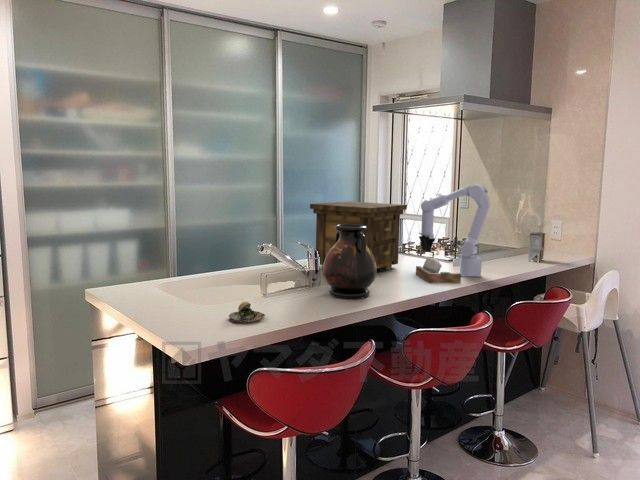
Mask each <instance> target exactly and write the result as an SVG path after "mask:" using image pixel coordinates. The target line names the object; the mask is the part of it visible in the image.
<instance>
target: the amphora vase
mask: <svg viewBox="0 0 640 480" xmlns="http://www.w3.org/2000/svg"><path fill="white" fill-rule="evenodd" d="M335 229H337V230H338V232H337V234H336V239H335V244H334V245H333V247H332V248H331V249H330V250H329V251H328V253H327V255H326V257H325V260H324V264H323V269H322V275H323V278H324V280H325V282H326V283H327V284H328V285H329V286H330V288H329V289H328V294H329V295H330V296H333V297H335V298H338V299H343V300H344V299H345V300H358V299H359V300H360V299H364V298H367V297H368V296H369V295H370V293H371V292H370V289H369V287H371V285H372V284H373V283H374V281H375V280H376V278H377V272H378V268H377V267H376V261H375V258H374V255H373V253H372V252H371V250H370V249H369V248H368V247H367V244H366V238H365V236H364V235H363V234H362V232H363V231H365V230H367V227H366V226H364V225H357V224H340V225H336V226H335Z"/></svg>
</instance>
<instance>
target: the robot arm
mask: <svg viewBox="0 0 640 480" xmlns="http://www.w3.org/2000/svg"><path fill="white" fill-rule="evenodd" d="M464 196H465V197H470V198H471V199H472V200H474V201H475V203H476V205H477V209H476V212H475V215H474V218H473V221H472V223H471V227H470V229H469V232H468V235H467V237H466V239H465V241H464V243H463V244H462V246H461V247H460V248H459V252H460V268H459V271H458V272H456V273H460V274H461V277H463V278H466V277H482V259H481V257H477V255H476V254H477V252H478V250H479V249H478V248H479V247H478V244H479V238H480V234H481V232H482V230H483V227H484V223H485V221H486V218H487V215H488V212H489V209H490V207H491V202H490V197H489V190H488V189H487V188H486V186H485V185H483V184H481V183H479V184H472V185H469V186H464V187H462V188H459V189H457V190H455V191H453V192H450V193H449V194H445V193H438V194H437V195H436V196H435V197H430V198H429V199H428V200H427V199H425V200H424V201H422V202H421V204H420V209H421V211H422V212H421V229H420V232H418V234H419V235H420V236H418V238H419V240H420V245H421V250H422V251H425V252H426V253H430V252H431V251H432V246H433V244H434V242H435V240H436V239H435V238H434V236H435V235H434V214H435V213H434V212H435V210H437V209H440V208H442V207H445V206H447V205H448V204H449V202H450V201H453V200H456V199H458V198H459V199H460V198H461V197H464Z"/></svg>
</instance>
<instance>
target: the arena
mask: <svg viewBox="0 0 640 480" xmlns="http://www.w3.org/2000/svg"><path fill="white" fill-rule="evenodd" d="M415 275H416V276H418V277H419V278H421V279H422V280H423V281H425V282H427V283H428V284H430V283H431V284H436V283H437V284H441V283H442V284H443V283H445V284H447V283H448V284H450V283H452V284H454V283H455V284H457V283H458V284H459V283H461V280H462V276H461V274H460V273H457V272H450V271H439V273H431V272H429V271H427V270H426V269H424V268H423V266H420V265H416V267H415Z"/></svg>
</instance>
